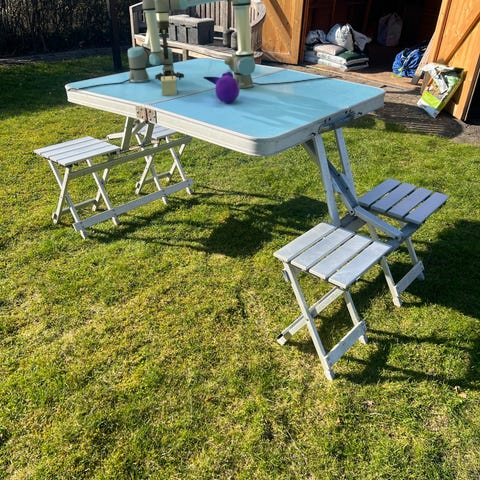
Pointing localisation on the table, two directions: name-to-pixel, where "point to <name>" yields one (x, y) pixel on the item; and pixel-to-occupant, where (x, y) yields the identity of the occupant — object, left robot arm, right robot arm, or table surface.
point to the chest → (169, 88)
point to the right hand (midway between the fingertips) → (166, 57)
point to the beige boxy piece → (168, 78)
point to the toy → (225, 87)
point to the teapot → (230, 62)
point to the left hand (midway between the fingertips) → (170, 78)
